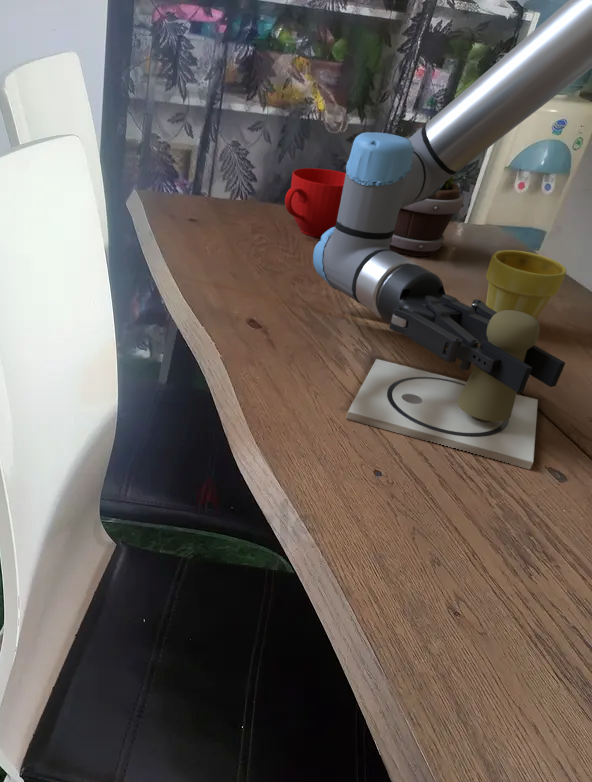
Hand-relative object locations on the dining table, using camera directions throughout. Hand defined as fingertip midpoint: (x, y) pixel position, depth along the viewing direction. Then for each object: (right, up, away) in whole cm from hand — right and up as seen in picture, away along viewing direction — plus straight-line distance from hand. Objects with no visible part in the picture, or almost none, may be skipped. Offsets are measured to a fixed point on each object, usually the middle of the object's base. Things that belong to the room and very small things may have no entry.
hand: (541, 377), depth 75 cm
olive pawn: (-3, -2, +8) cm, 9 cm away
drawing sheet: (-7, -2, +11) cm, 13 cm away
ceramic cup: (-15, +39, +65) cm, 77 cm away
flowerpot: (+3, +36, +63) cm, 73 cm away
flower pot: (+11, +14, +36) cm, 40 cm away
